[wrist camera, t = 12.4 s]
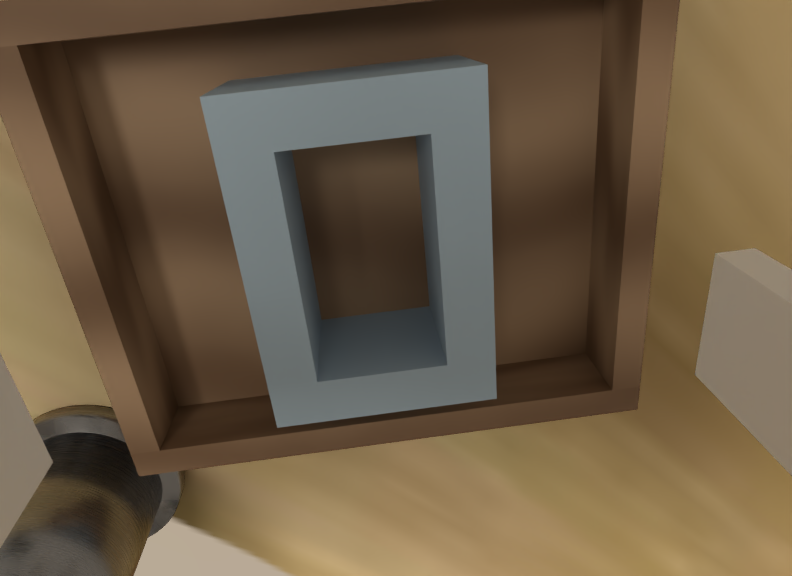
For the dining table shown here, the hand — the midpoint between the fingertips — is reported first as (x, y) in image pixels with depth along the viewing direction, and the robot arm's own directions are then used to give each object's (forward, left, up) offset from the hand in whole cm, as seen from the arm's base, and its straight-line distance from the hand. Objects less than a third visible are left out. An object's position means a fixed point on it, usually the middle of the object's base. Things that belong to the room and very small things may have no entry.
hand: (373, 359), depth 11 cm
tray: (0, 0, -11) cm, 11 cm away
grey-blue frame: (0, 0, -10) cm, 10 cm away
